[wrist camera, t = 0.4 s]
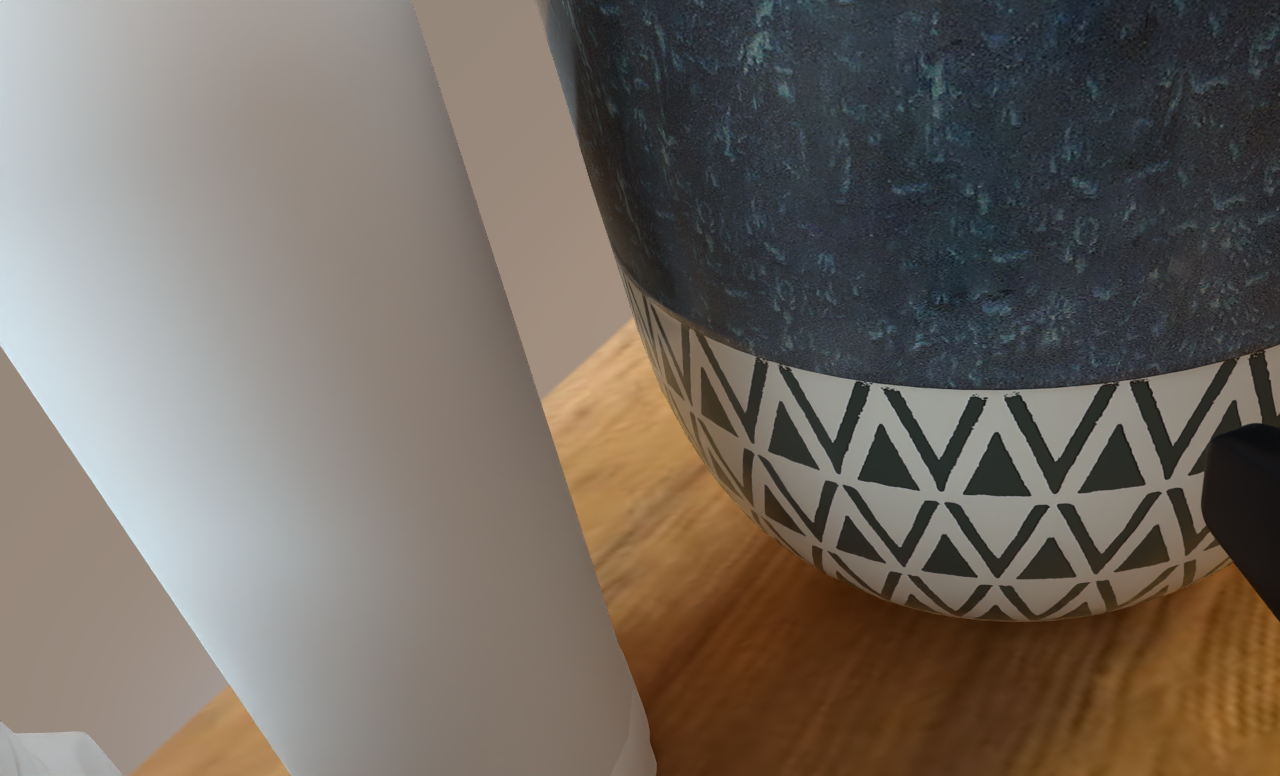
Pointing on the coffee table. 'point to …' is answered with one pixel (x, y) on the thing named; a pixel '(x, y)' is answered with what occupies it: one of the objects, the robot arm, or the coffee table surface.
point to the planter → (948, 273)
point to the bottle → (304, 380)
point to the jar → (52, 755)
